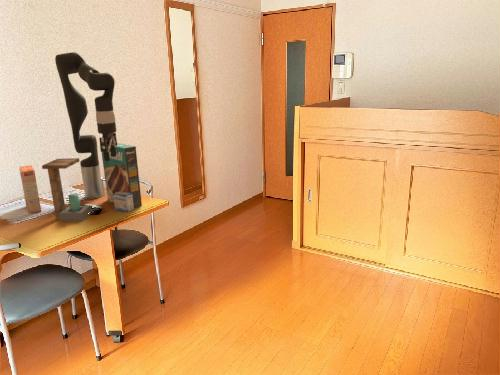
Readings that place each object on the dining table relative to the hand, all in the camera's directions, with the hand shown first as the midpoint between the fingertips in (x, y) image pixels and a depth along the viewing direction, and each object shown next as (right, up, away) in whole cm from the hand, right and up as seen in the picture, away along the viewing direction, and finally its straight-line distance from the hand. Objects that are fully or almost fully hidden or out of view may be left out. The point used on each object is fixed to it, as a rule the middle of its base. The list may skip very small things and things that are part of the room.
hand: (110, 158), depth 172 cm
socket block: (-19, -27, +10) cm, 34 cm away
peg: (-19, -27, +10) cm, 34 cm away
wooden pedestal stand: (-22, -27, +10) cm, 36 cm away
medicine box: (0, -24, +19) cm, 30 cm away
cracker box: (-46, -24, +23) cm, 57 cm away
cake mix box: (-3, -21, +30) cm, 36 cm away
